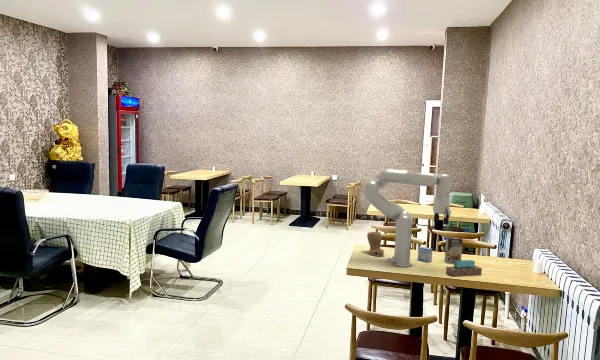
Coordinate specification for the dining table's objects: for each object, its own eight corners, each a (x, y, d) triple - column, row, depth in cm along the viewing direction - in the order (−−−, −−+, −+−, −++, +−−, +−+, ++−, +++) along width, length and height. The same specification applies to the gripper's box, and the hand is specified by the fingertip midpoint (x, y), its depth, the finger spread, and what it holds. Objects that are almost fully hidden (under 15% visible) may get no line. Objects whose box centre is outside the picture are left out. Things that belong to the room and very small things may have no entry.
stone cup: (366, 250, 322) (367, 229, 320) (384, 252, 319) (385, 230, 318) (365, 255, 307) (366, 233, 306) (383, 257, 305) (385, 235, 303)
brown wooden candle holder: (452, 276, 267) (452, 269, 267) (445, 273, 273) (446, 266, 272) (481, 275, 273) (481, 268, 273) (474, 272, 279) (475, 265, 278)
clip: (456, 275, 270) (457, 262, 269) (453, 274, 273) (454, 260, 272) (473, 274, 273) (474, 261, 272) (470, 273, 276) (471, 259, 275)
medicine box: (417, 260, 301) (418, 247, 301) (420, 259, 305) (421, 246, 304) (428, 262, 296) (429, 249, 295) (431, 261, 299) (432, 248, 299)
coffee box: (446, 263, 297) (448, 238, 295) (444, 260, 303) (446, 236, 302) (461, 264, 296) (463, 239, 295) (458, 261, 302) (460, 237, 301)
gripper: (429, 192, 286) (427, 220, 287) (445, 196, 269) (443, 225, 271) (440, 193, 288) (438, 220, 289) (457, 196, 271) (454, 225, 273)
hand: (440, 222), depth 280 cm, fingers open, 9 cm apart
